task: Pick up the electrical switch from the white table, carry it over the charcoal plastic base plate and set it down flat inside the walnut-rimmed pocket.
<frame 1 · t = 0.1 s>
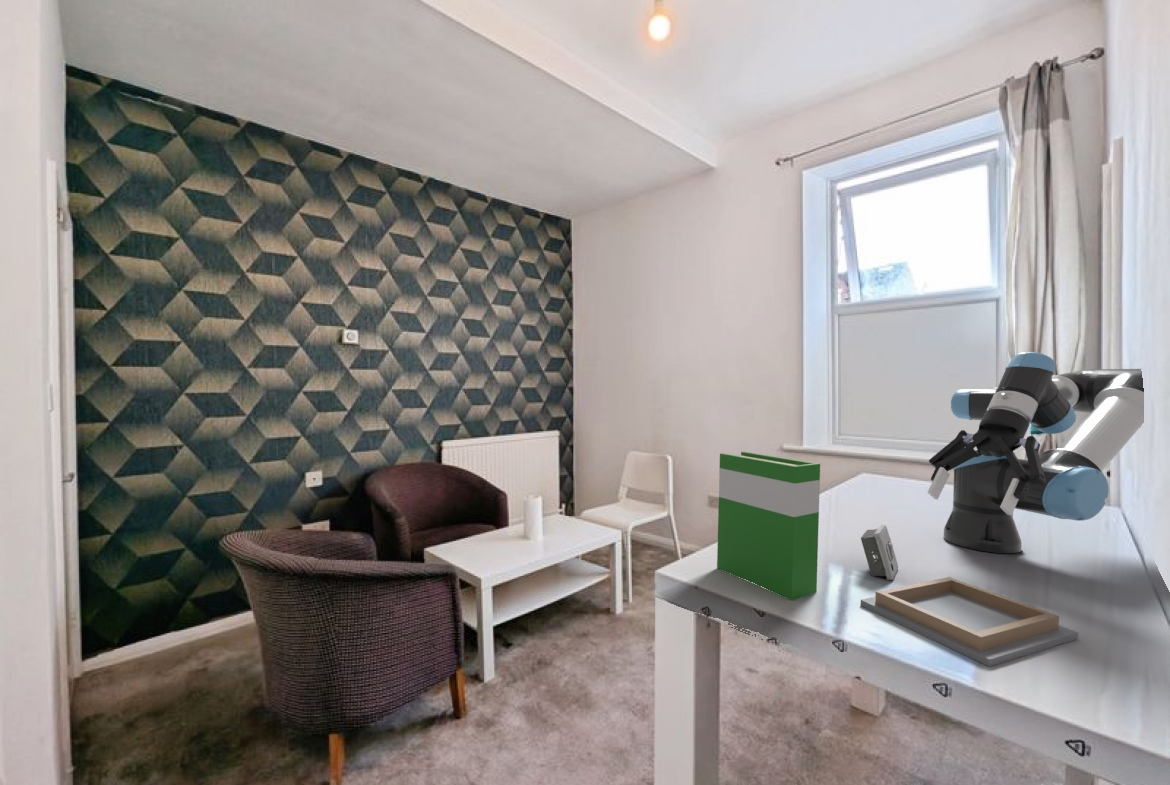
hand: (966, 503, 100), 15 cm above the table, tool tilted 35°, fingers open, 13 cm apart
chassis: (962, 621, 82), on the table
electrical switch: (880, 573, 103), on the table
green open box: (763, 580, 98), on the table
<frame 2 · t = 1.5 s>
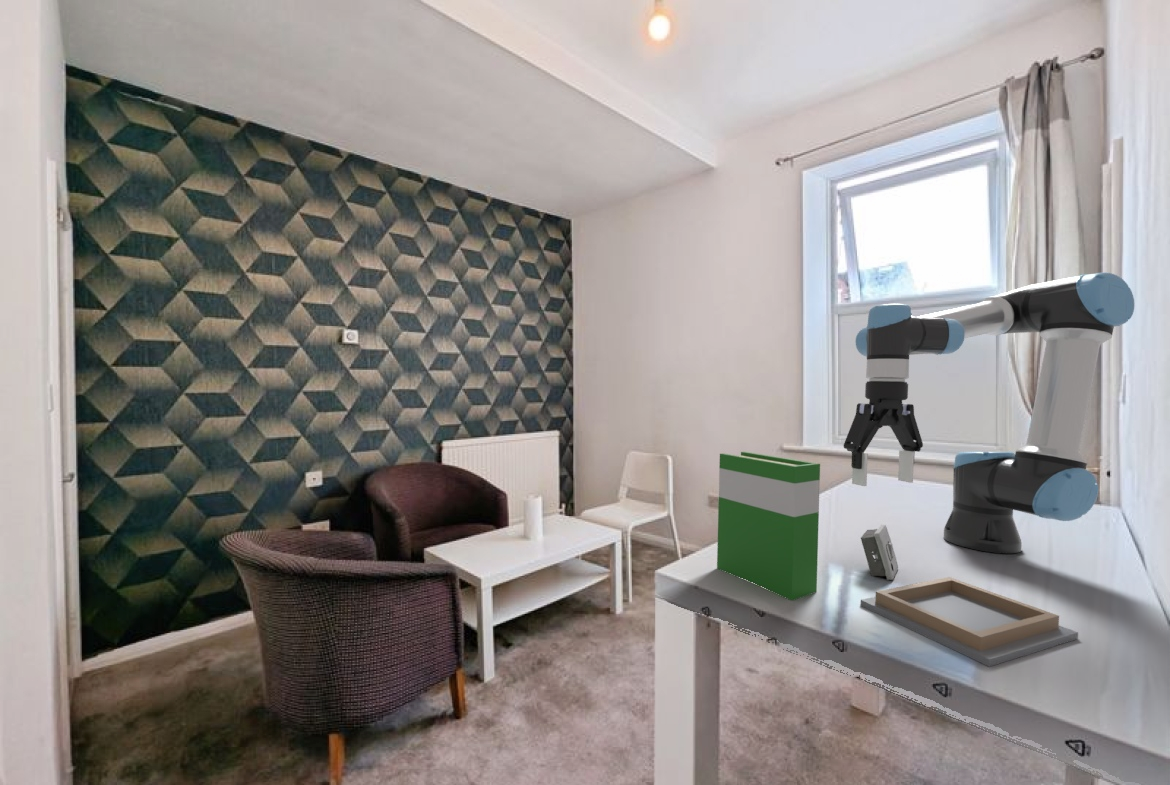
hand: (882, 483, 103), 19 cm above the table, tool pointing down, fingers open, 13 cm apart
nothing on the table moved.
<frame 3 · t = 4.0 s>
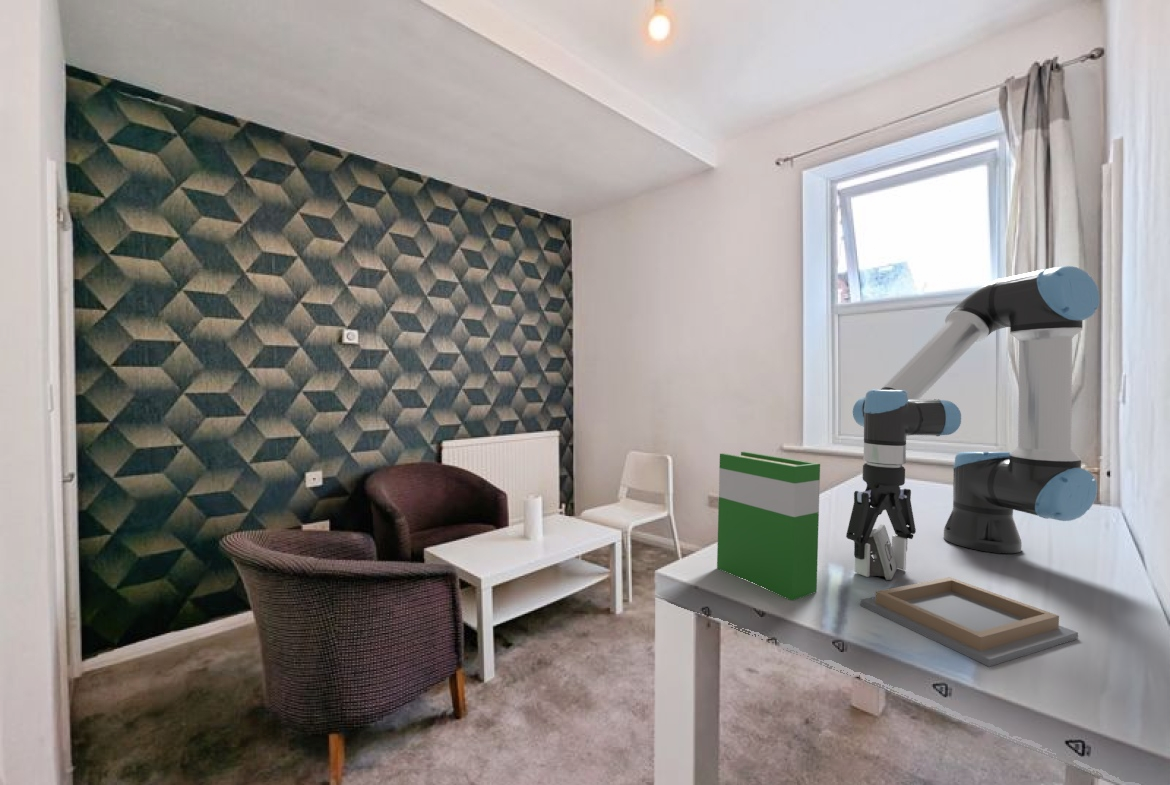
hand: (880, 570, 103), 0 cm above the table, tool pointing down, fingers closed on electrical switch, 10 cm apart
electrical switch: (878, 573, 103), on the table, touching gripper
everything else where it was.
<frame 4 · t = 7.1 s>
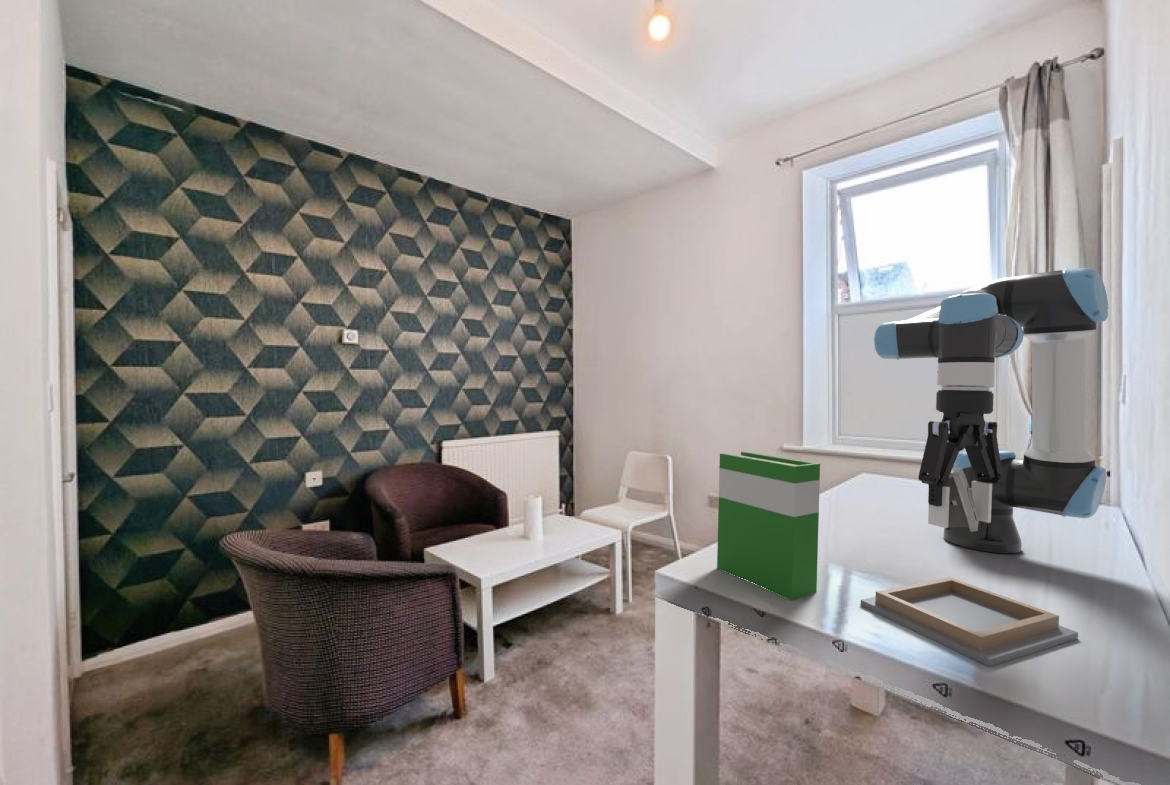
hand: (959, 522, 82), 16 cm above the table, tool pointing down, fingers closed on electrical switch, 10 cm apart
electrical switch: (957, 525, 82), point 16 cm above the table, touching gripper
everything else where it was.
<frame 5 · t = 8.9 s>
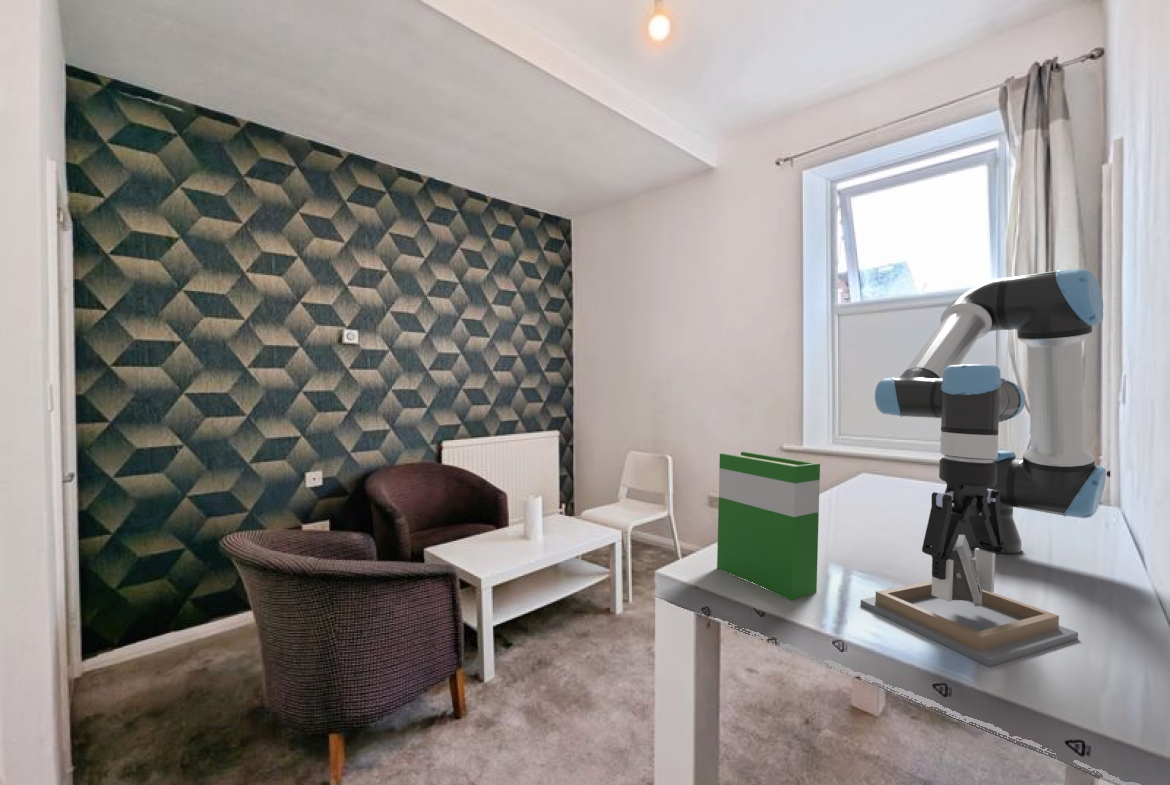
hand: (963, 593, 82), 5 cm above the table, tool pointing down, fingers closed on electrical switch, 10 cm apart
electrical switch: (960, 596, 82), point 4 cm above the table, touching gripper
everything else where it was.
when the fingers open (3 cm above the table, at t = 10.1 s): electrical switch drops 2 cm, resting on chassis.
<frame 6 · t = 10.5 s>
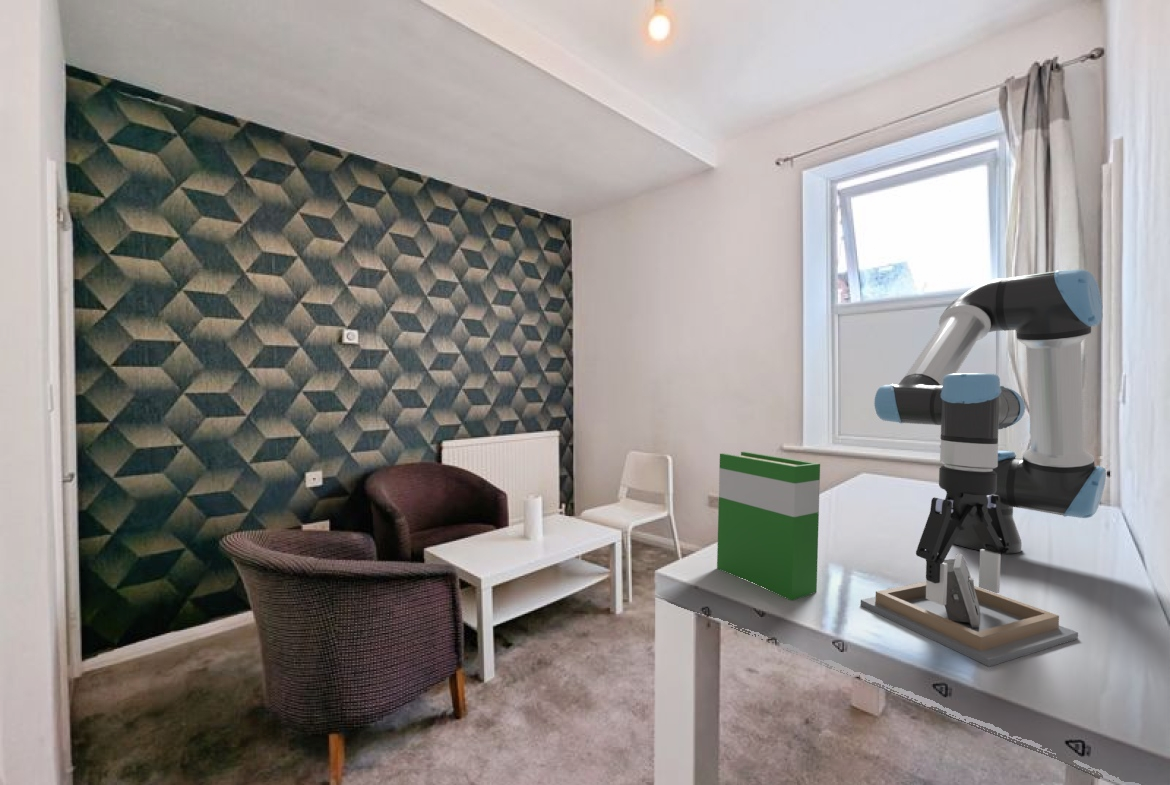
hand: (963, 595, 82), 4 cm above the table, tool pointing down, fingers open, 13 cm apart
electrical switch: (958, 616, 82), point 1 cm above the table, touching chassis
everything else where it was.
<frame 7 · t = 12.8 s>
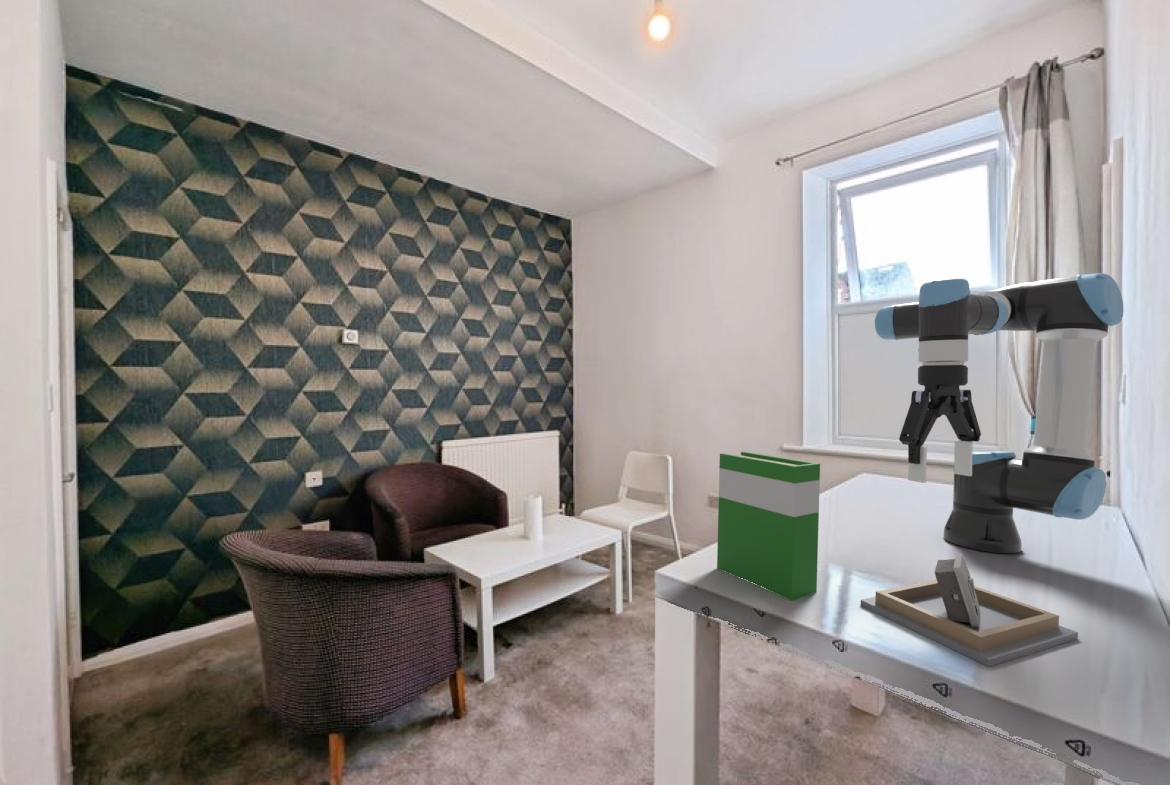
hand: (940, 478, 93), 22 cm above the table, tool pointing down, fingers open, 13 cm apart
nothing on the table moved.
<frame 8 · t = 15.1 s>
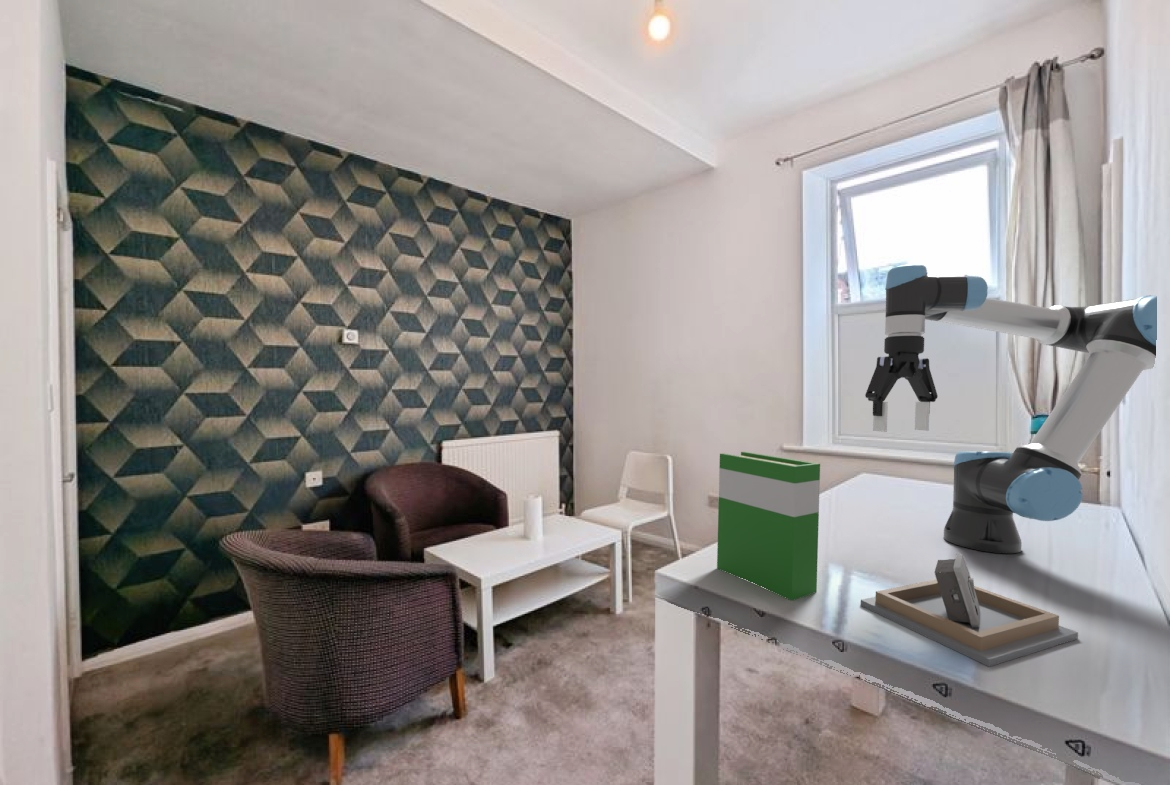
hand: (901, 430, 112), 29 cm above the table, tool pointing down, fingers open, 13 cm apart
nothing on the table moved.
at the end: electrical switch 0.8 cm off-centre on the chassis, point 0.8 cm above the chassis's base; electrical switch tilted 0°; the gripper is holding nothing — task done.
